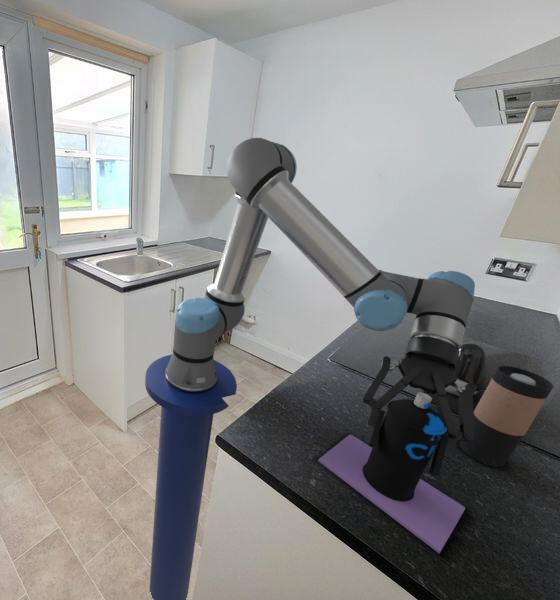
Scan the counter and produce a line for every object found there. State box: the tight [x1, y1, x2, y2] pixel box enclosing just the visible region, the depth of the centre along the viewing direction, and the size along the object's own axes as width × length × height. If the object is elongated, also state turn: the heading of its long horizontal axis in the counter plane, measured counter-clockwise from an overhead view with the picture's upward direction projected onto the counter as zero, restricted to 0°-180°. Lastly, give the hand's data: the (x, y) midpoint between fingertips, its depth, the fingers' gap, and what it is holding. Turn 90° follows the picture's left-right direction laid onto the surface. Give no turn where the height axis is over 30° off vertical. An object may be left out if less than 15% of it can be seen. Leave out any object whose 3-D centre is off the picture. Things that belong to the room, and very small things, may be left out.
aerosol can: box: [363, 392, 447, 502], centre depth 56 cm, size 8×8×20 cm
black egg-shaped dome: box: [445, 342, 488, 397], centre depth 86 cm, size 10×10×15 cm
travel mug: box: [459, 365, 554, 468], centre depth 64 cm, size 8×8×20 cm
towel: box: [318, 434, 466, 554], centre depth 59 cm, size 20×13×1 cm, turn 34°
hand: (401, 458), depth 54 cm, fingers closed on aerosol can, 8 cm apart
